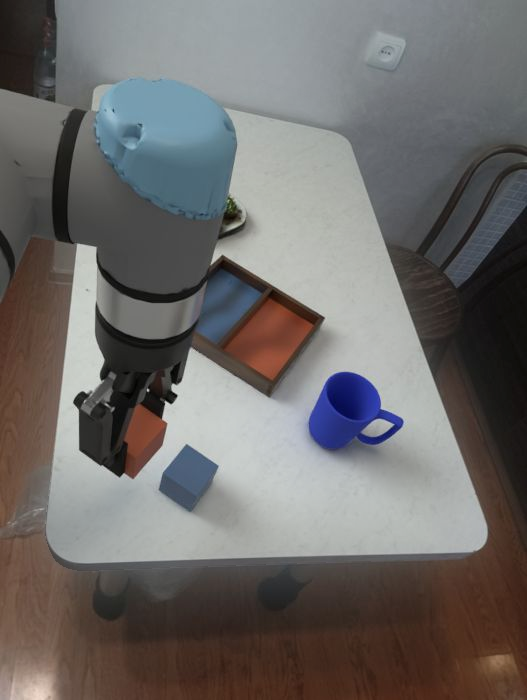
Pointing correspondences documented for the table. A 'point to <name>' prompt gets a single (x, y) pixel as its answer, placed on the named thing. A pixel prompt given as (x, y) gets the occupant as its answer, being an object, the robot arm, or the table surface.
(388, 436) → the mug
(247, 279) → the tray
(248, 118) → the table surface
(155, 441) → the terracotta block
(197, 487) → the blue block
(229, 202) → the salad plate
